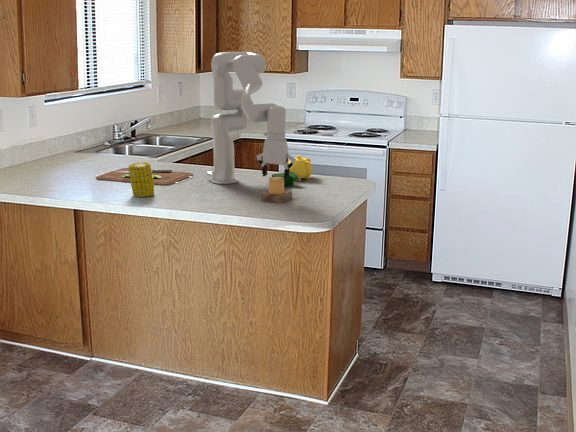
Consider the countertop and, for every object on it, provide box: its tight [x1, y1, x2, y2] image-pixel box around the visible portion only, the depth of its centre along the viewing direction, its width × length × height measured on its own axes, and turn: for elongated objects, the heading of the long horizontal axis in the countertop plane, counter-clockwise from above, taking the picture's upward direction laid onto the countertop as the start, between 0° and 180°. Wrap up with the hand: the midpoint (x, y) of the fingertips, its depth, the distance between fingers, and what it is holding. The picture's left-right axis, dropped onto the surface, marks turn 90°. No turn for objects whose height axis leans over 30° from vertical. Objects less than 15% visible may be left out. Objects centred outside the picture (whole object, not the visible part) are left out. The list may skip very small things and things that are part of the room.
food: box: [128, 161, 155, 198], centre depth 323 cm, size 15×12×10 cm
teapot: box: [288, 155, 313, 182], centre depth 357 cm, size 14×14×11 cm
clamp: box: [271, 172, 299, 188], centre depth 342 cm, size 12×6×9 cm, turn 117°
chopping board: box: [94, 167, 195, 187], centre depth 361 cm, size 45×27×3 cm, turn 69°
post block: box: [260, 189, 293, 204], centre depth 317 cm, size 10×10×8 cm
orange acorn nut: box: [268, 176, 285, 194], centre depth 316 cm, size 6×6×6 cm
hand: (275, 176), depth 316 cm, fingers open, 9 cm apart
